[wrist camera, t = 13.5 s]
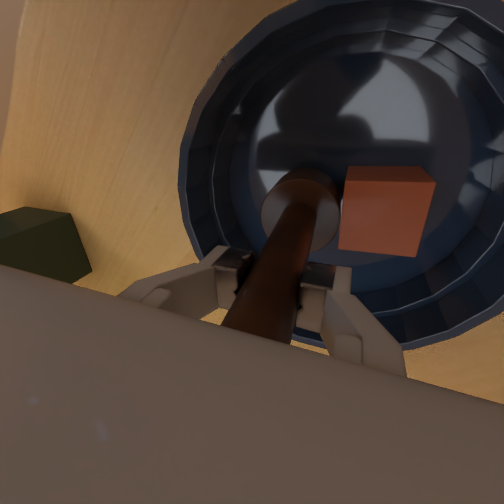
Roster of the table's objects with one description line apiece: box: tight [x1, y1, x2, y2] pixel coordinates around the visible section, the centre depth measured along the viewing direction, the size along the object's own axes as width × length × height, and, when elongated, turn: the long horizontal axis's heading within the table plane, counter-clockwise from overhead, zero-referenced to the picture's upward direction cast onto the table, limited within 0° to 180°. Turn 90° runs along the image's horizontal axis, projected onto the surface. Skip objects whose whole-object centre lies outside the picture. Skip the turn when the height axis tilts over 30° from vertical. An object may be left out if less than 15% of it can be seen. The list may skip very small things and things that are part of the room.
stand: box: [0, 207, 92, 284], centre depth 28 cm, size 8×8×12 cm
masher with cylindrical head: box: [220, 168, 341, 345], centre depth 11 cm, size 5×5×14 cm
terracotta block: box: [338, 166, 436, 257], centre depth 15 cm, size 4×4×4 cm
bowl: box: [178, 0, 504, 351], centre depth 16 cm, size 18×18×6 cm
